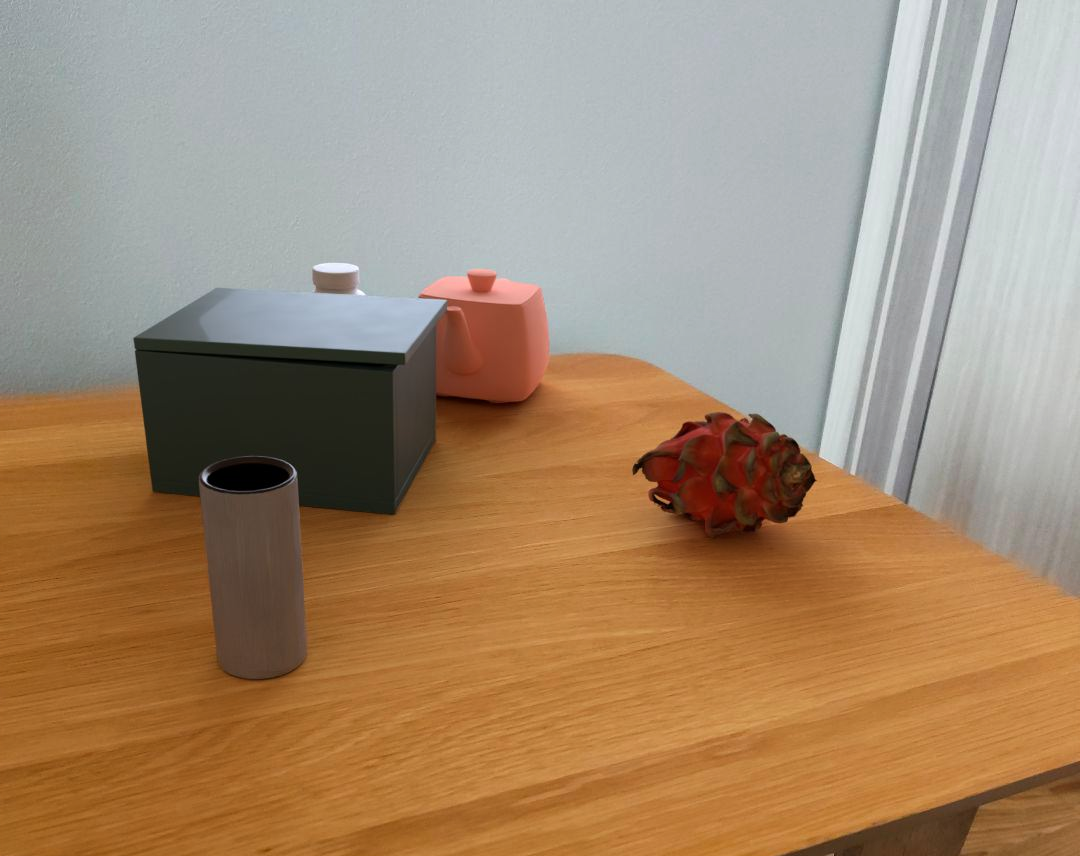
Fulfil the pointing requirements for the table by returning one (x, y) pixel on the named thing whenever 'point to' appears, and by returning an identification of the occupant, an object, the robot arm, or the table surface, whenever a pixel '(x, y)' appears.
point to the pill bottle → (336, 279)
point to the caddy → (292, 421)
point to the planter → (254, 565)
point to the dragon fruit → (729, 473)
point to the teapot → (489, 337)
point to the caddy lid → (297, 326)
